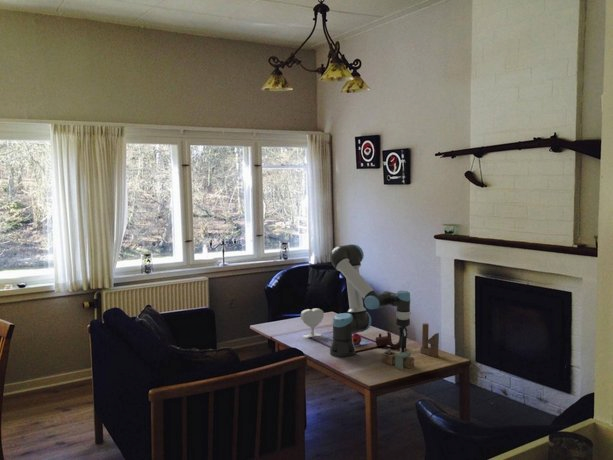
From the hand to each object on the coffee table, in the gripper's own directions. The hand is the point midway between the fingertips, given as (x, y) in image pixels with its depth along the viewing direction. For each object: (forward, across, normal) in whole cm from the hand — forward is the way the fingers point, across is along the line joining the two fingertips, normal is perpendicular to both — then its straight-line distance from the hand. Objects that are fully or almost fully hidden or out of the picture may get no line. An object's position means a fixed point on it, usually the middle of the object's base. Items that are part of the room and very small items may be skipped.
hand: (402, 358), depth 309 cm
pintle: (+2, +3, +7) cm, 8 cm away
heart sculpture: (+3, +54, +51) cm, 74 cm away
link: (+2, -2, +3) cm, 4 cm away
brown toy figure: (+3, +29, +2) cm, 29 cm away
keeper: (+2, -7, 0) cm, 8 cm away
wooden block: (+3, +14, -19) cm, 24 cm away
